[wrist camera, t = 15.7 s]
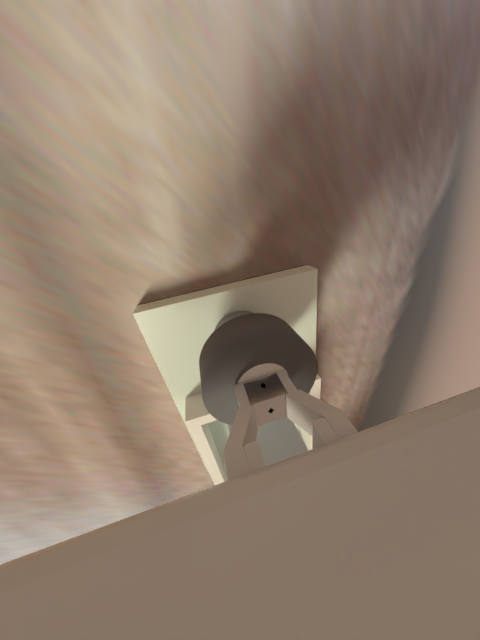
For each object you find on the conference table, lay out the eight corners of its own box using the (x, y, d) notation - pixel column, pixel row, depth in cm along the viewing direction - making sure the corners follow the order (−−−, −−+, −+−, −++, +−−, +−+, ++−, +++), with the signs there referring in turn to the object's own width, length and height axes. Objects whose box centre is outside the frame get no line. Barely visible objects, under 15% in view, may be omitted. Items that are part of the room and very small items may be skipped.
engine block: (283, 426, 24) (310, 484, 19) (234, 443, 23) (248, 508, 18) (280, 397, 22) (310, 455, 17) (226, 415, 21) (239, 481, 16)
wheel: (298, 380, 16) (316, 406, 14) (212, 407, 15) (217, 440, 13) (295, 300, 13) (319, 318, 11) (185, 329, 12) (185, 355, 10)
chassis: (307, 424, 28) (325, 454, 24) (207, 459, 26) (210, 497, 23) (307, 264, 17) (338, 277, 14) (137, 305, 15) (123, 331, 12)
